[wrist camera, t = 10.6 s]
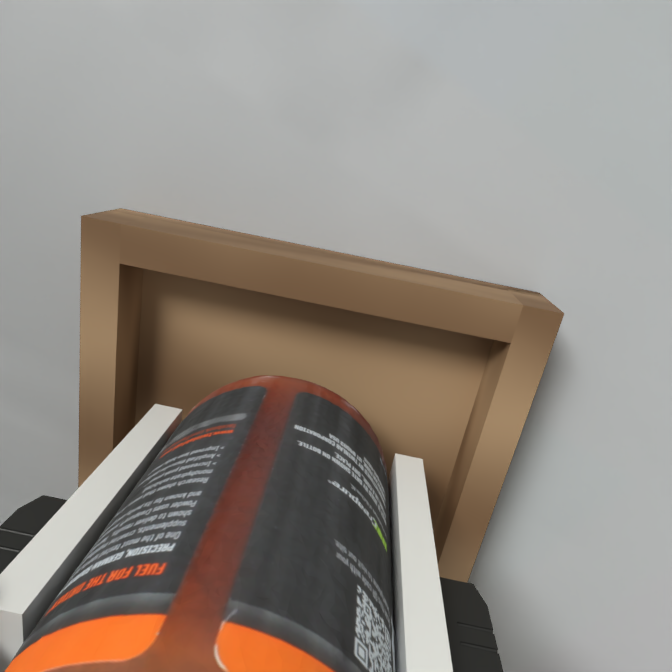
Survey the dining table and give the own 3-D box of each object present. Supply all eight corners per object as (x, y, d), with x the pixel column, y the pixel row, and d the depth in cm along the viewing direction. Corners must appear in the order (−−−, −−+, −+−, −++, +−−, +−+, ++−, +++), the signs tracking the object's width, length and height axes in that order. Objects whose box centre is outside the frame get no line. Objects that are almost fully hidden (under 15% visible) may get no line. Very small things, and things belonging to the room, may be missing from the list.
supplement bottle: (146, 484, 15) (-442, 1311, 4) (240, 324, 13) (-414, 1119, 2) (317, 578, 16) (184, 1494, 5) (432, 440, 14) (622, 1471, 3)
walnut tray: (120, 208, 14) (81, 216, 12) (539, 293, 14) (564, 313, 12) (108, 540, 18) (77, 584, 16) (432, 609, 18) (438, 662, 16)
